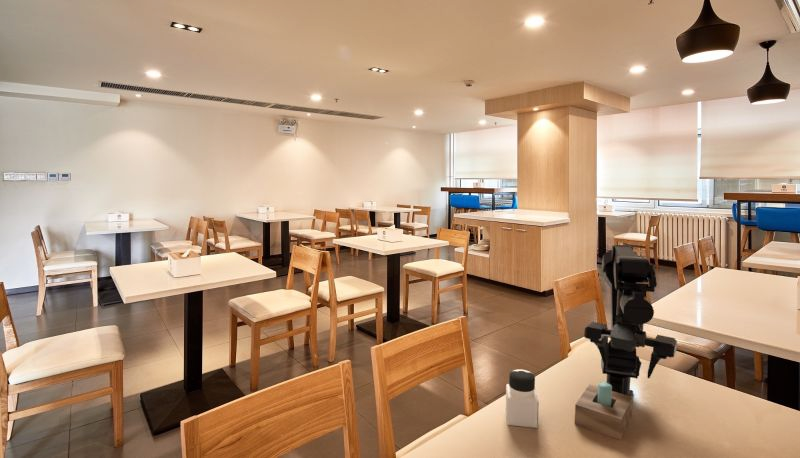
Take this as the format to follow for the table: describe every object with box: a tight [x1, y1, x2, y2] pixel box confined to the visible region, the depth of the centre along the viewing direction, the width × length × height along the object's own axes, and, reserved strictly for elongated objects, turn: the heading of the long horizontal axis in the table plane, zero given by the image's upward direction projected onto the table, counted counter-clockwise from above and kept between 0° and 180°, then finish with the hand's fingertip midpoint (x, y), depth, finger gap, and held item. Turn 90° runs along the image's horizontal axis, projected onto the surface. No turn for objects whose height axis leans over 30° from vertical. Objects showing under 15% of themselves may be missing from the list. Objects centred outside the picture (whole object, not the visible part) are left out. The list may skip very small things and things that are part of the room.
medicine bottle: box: [505, 369, 540, 429], centre depth 100 cm, size 7×7×12 cm
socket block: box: [574, 383, 633, 441], centre depth 100 cm, size 12×10×5 cm
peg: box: [597, 381, 612, 407], centre depth 99 cm, size 3×3×9 cm
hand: (626, 371), depth 98 cm, fingers open, 9 cm apart
